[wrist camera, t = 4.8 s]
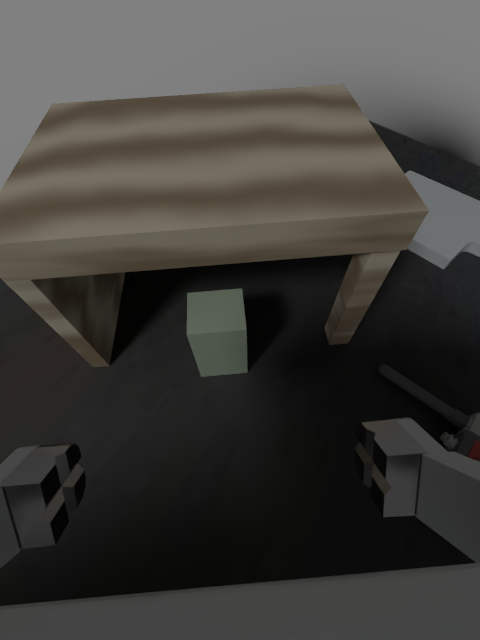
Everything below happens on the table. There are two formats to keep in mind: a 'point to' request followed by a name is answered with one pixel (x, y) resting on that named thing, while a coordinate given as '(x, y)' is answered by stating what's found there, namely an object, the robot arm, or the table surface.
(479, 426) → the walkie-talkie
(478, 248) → the mounting plate
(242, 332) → the sage wooden block
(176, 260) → the wood grain stool
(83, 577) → the table surface
